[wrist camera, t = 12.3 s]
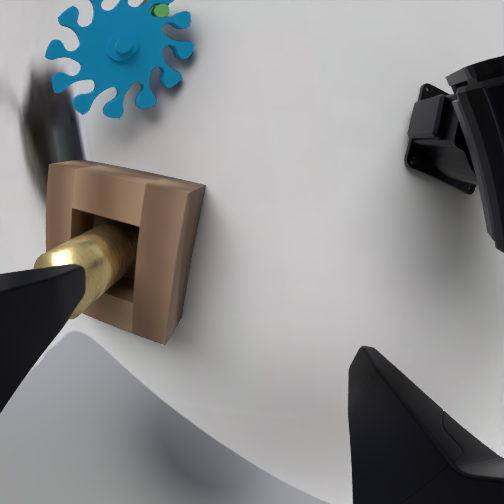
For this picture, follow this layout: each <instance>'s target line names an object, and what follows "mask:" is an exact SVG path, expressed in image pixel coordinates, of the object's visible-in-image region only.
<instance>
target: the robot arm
mask: <svg viewBox="0 0 504 504" xmlns="http://www.w3.org/2000/svg"><path fill="white" fill-rule="evenodd" d="M446 79H447V82H448V84H449V86H451V87H452V89H453V92H454V94H450V95H449V94H448V93H446V92H444V91H442V90H440V89H438V88H436V87H435V86H433V85H431V84H428V83H427V84H423V85H422V86H421V88H420V94H419V99H418V102H416V103H415V104H414V108H413V113H412V117H411V122H410V126H409V130H408V136H409V138H410V139H409V143H408V147H407V151H406V155H405V160H404V161H405V164H406V165H407V166H408V167H410V168H412V169H415V170H417V171H419V172H422V173H424V174H426V175H429V176H431V177H433V178H435V179H437V180H440V181H442V182H444V183H446V184H448V185H450V186H452V187H454V188H456V189H458V190H460V191H462V192H464V193H467V194H473V193H474V191H475V187H476V185H478V186H479V191H480V195H481V200H482V204H483V210H484V215H485V221H486V227H487V232H488V233H489V235H490V236H491V238H492V239H493V240H494V241H495V247H496V248H497V249H498V250H500V251H502V252H503V253H504V56H501V57H496V58H493V59H489V60H485V61H482V62H479V63H475V64H472V65H470V66H467V67H465V68H462V69H460V70H459V71H457V72H455V73H453V74H451V75H449V76H447V77H446ZM426 88H428V89H429V93H427V91H426ZM411 157H412V158H413V159H414V162H413V163H412V164H411V163H410V158H411ZM469 185H470V189H469V190H468V186H469ZM85 291H86V281H85V269H84V267H82V266H80V265H77V264H66V265H59V266H52V267H45V268H38V269H31V270H25V271H18V272H11V273H4V274H0V413H1V411H2V410H3V408H4V407H5V405H6V404H7V402H8V401H9V399H10V398H11V396H12V395H13V393H14V392H15V391H16V389H17V388H18V386H19V385H20V383H21V382H22V381H23V379H24V378H25V376H26V375H27V374H28V372H29V371H30V370H31V368H32V367H33V366H34V364H35V363H36V362H37V360H38V359H39V358H40V356H41V355H42V354H43V352H44V351H45V350H46V348H47V347H48V346H49V345H50V343H51V342H52V341H53V339H54V338H55V337H56V336H57V334H58V333H59V332H60V331H61V329H62V328H63V327H64V325H65V324H66V322H67V321H68V319H69V318H70V316H71V314H72V313H73V311H74V310H75V308H76V307H77V305H78V304H79V303H80V301H81V300H82V298H83V297H84V294H85ZM348 420H349V432H350V446H351V463H352V486H353V504H504V458H502V457H500V456H499V455H497V454H496V453H495V452H493V451H492V450H491V449H490V448H488V447H487V446H486V445H484V444H483V443H482V442H481V441H479V440H478V439H477V438H475V437H474V436H473V435H472V434H470V433H469V432H468V431H467V430H466V429H464V428H463V427H462V426H461V425H460V424H458V423H457V422H456V421H455V420H454V419H453V418H452V417H450V416H449V415H448V414H447V413H446V412H445V411H443V409H442V408H441V407H439V406H438V405H437V404H436V403H435V402H434V401H433V400H432V399H431V398H429V397H428V396H427V395H426V394H425V393H424V392H423V391H422V390H421V389H420V388H418V387H417V386H416V385H415V384H414V383H413V382H412V381H411V380H410V379H408V378H407V377H406V376H405V375H404V374H403V373H402V372H401V371H400V370H398V369H397V368H396V367H395V366H394V365H393V364H392V363H391V362H389V361H388V360H387V359H386V358H385V357H384V356H383V355H382V354H381V353H379V352H378V351H377V350H376V349H375V348H373V347H368V346H362V347H360V349H359V350H358V352H357V354H356V356H355V358H354V360H353V361H352V363H351V365H350V368H349V382H348Z"/></svg>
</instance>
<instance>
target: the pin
mask: <svg viewBox="0 0 504 504" xmlns="http://www.w3.org/2000/svg"><path fill="white" fill-rule="evenodd" d="M138 237H139V229H138V228H137V226H135V225H132V224H128V223H124V222H121V221H117V220H114V219H112V220H110V221H108V222H105V223H103V224H101V225H99V226H97V227H95V228H93V229H91V230H89V231H87V232H85V233H83V234H81V235H79V236H77V237H75V238H73V239H71V240H69V241H67V242H65V243H63V244H61V245H59V246H57V247H56V248H54V249H52V250H50V251H48V252H46V253H44V254H43V255H41V256H40V257H38V259H37V260H36V262H35V265H34V269H38V268H45V267H52V266H59V265H66V264H77V265H80V266H82V267H84V269H85V281H86V291H85V294H84V297H83V298H82V300H81V301H80V303H79V304H78V305H77V307H76V308H75V310H74V311H73V313H72V314H71V316H70V318H69V319H74V318H76V317H77V316H79V315H80V314H81V313H82V312H83V311H84V310H85V309H86V308H88V307H89V306H90V305H91V304H92V303H93V302H94V301H95V300H96V299H98V298H99V297H100V296H101V295H102V294H103V293H104V292H105V291H107V290H108V289H109V288H110V287H111V286H112V285H114V284H115V283H116V282H117V281H118V280H119V279H120V278H122V277H123V276H124V275H125V274H126V273H127V272H129V271H130V270H131V269H132V268H133V267H135V266H136V257H137V247H138Z"/></svg>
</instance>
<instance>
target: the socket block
mask: <svg viewBox="0 0 504 504" xmlns="http://www.w3.org/2000/svg"><path fill="white" fill-rule="evenodd" d="M205 186H206V185H203V184H198V183H194V182H190V181H185V180H181V179H177V178H172V177H167V176H163V175H158V174H153V173H149V172H144V171H139V170H134V169H129V168H124V167H119V166H114V165H108V164H103V163H97V162H92V161H86V160H74V161H67V162H60V163H54V164H49V171H48V183H47V200H46V252H48V251H50V250H52V249H54V248H56V247H57V246H59V245H61V244H63V243H65V242H67V241H69V240H71V239H73V238H75V237H77V236H79V235H81V234H83V233H85V232H87V231H89V230H91V229H93V228H95V227H97V226H99V225H101V224H103V223H105V222H108V221H110V220H112V219H114V220H117V221H121V222H124V223H128V224H132V225H135V226H137V228H138V229H139V237H138V247H137V257H136V266H135V267H133V268H132V269H131V270H130V271H129V272H127V273H126V274H125V275H124V276H123V277H122V278H120V279H119V280H118V281H117V282H116V283H115V284H114V285H112V286H111V287H110V288H109V289H108V290H107V291H105V292H104V293H103V294H102V295H101V296H100V297H99V298H98V299H96V300H95V301H94V302H93V303H92V304H91V305H90V306H89V307H88V308H86V309H85V310H84V311H83V312H82V313H83V314H86V315H88V316H90V317H93V318H95V319H97V320H100V321H102V322H105V323H107V324H110V325H112V326H115V327H117V328H120V329H122V330H125V331H127V332H130V333H133V334H135V335H138V336H141V337H144V338H146V339H149V340H152V341H155V342H158V343H161V344H164V345H166V343H167V341H168V339H169V338H170V336H171V334H172V333H173V331H174V329H175V327H176V326H177V324H178V322H179V321H180V319H181V317H182V311H183V305H184V298H185V292H186V286H187V280H188V274H189V268H190V262H191V257H192V251H193V246H194V240H195V235H196V230H197V225H198V220H199V214H200V210H201V205H202V200H203V195H204V190H205Z"/></svg>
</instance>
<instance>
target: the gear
mask: <svg viewBox="0 0 504 504" xmlns="http://www.w3.org/2000/svg"><path fill="white" fill-rule="evenodd" d="M102 1H103V0H90V2H91V3H92V5H93V10H94V13H93V19H92V23H91V24H90V25H89V26H87V27H81V26H79V25H78V23H77V20H78V15H79V12H78V9H77V8H76V7H74V6H72V7H70V8H68V9H67V10H66V11H64V12H63V13H62V14H61V15H60V16H59V17H58V20H59V23H60V25H62V26H65V27H68V28H70V29H72V30H73V31H74V32H75V33H76V35H77V37H78V39H79V42H80V44H79V47H78V48H77V49H76V50H75V51H71V52H70V51H67V50H66V49H65V47H64V45H63V43H62V42H61V41H60V40H52V41H51V42H50V44H49V46H48V48H47V51H46V55H45V57H46V58H47V59H50V60H53V59H57V58H62V57H66V58H71V59H73V60H75V61H77V62H79V63H80V65H81V70H80V72H79V73H78V74H77V75H75V76H69V75H67V74H65V73H61V72H60V73H56V74H55V75H54V76H53V77H52V86H53V89H54V92H55V93H59V92H62V91H63V90H65V89H66V88H67V87H68V86H69V85H71V84H72V83H74V82H77V81H80V80H93V81H94V83H95V88H94V90H93V91H92V92H91V93H88V94H80V95H77V96H76V97H75V98H74V99H73V101H72V104H73V106H74V108H75V109H76V110H77V111H78V112H79V113H81V114H82V115H83V114H85V113H87V112H88V111H89V109H90V107H91V105H92V103H93V101H94V99H95V98H96V97H97V96H98V95H99V94H100V93H101V92H103V91H104V90H106V89H108V88H110V87H115V88H116V89H117V95H116V97H115V98H114V99H113V100H111V101H109V102H108V103H106V104H105V106H104V108H103V113H104V115H106V116H108V117H110V118H118V119H119V118H120V117H121V116H122V114H123V99H124V96H125V94H126V92H127V90H128V89H129V87H130V86H131V85H132V84H133V83H135V82H139V83H140V84H141V90H140V92H139V93H138V95H137V96H136V99H135V104H136V106H137V107H138V108H140V109H144V108H149V107H152V106H154V105H155V104H156V98H155V96H154V95H153V93H152V91H151V89H150V84H149V79H150V73H151V71H152V69H153V68H155V67H159V68H160V70H161V78H160V81H161V84H162V85H163V86H164V87H167V88H171V87H173V86H174V85H176V84H177V83H178V82H179V81H180V80H181V79H182V76H181V74H180V73H179V72H178V71H175V70H173V69H172V68H170V67H169V66H168V65H167V63H166V62H165V60H164V57H163V55H162V51H163V49H164V47H166V46H170V47H171V48H172V50H173V52H174V55H175V56H176V57H177V58H181V59H187V58H188V57H189V56H190V55H191V53H192V51H193V48H194V44H193V43H192V42H189V41H185V42H179V41H175V40H172V39H171V38H169V37H168V36H166V35H165V34H164V33H163V31H162V28H163V26H164V24H166V23H168V24H170V25H172V26H173V27H174V28H176V29H183V28H188V27H189V26H190V23H191V18H190V12H187V11H183V12H180V13H177V14H175V15H173V16H171V17H165V16H166V15H168V13H169V7H168V5H169V3H171V2H173V1H174V0H144V1H143V2H142V3H141V4H140V5H139V6H138V7H131V6H129V5H128V0H120V1H119V3H118V4H117V5H116V6H115V8H114V9H112V10H110V11H105V10H103V9H102V8H101V2H102Z"/></svg>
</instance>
